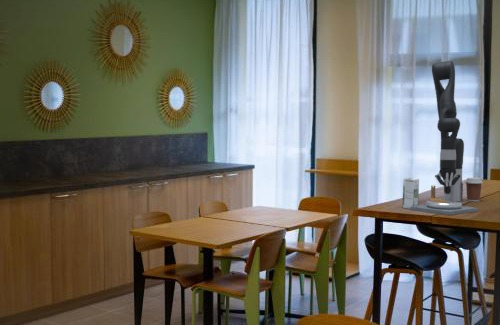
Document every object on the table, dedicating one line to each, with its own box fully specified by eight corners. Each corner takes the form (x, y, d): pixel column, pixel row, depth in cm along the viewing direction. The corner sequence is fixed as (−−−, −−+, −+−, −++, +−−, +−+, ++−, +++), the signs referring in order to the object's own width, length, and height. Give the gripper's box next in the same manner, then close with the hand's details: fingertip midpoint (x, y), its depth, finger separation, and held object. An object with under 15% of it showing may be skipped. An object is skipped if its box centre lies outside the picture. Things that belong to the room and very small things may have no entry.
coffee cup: (483, 201, 348) (484, 179, 347) (465, 201, 350) (466, 178, 349) (481, 199, 357) (481, 177, 356) (463, 199, 359) (464, 177, 358)
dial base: (438, 206, 329) (438, 202, 329) (477, 211, 312) (477, 207, 312) (409, 209, 316) (409, 206, 316) (449, 215, 298) (449, 211, 298)
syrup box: (407, 206, 326) (408, 177, 325) (418, 208, 322) (419, 178, 321) (402, 208, 322) (402, 178, 321) (413, 209, 318) (414, 179, 317)
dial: (468, 208, 308) (468, 189, 307) (437, 209, 304) (437, 189, 303) (446, 203, 327) (446, 185, 327) (416, 203, 323) (416, 185, 323)
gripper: (456, 158, 329) (456, 192, 330) (431, 158, 326) (431, 193, 327) (464, 159, 321) (463, 194, 322) (438, 159, 319) (438, 195, 320)
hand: (447, 193), depth 325 cm, fingers closed
